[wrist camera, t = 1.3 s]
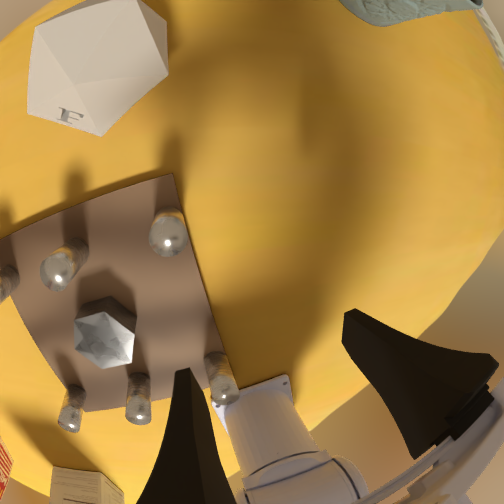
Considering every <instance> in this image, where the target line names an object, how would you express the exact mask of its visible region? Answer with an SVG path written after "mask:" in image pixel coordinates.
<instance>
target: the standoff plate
mask: <svg viewBox="0 0 504 504" xmlns="http://www.w3.org/2000/svg"><path fill="white" fill-rule="evenodd" d="M168 206H170V207H175V208H177V209H178V210H179V211H180V212H181V213H182V209H181V206H180V202H179V198H178V194H177V190H176V186H175V182H174V177H173V173H171V174H168V175H164V176H161V177H157V178H154V179H150V180H147V181H144V182H141V183H137V184H134V185H131V186H128V187H125V188H122V189H119V190H116V191H113V192H110V193H107V194H105V195H102V196H99V197H96V198H94V199H91V200H88V201H86V202H83V203H80V204H78V205H75V206H73V207H70V208H68V209H65V210H63V211H60V212H58V213H56V214H53V215H51V216H49V217H46V218H44V219H42V220H40V221H37V222H35V223H33V224H31V225H29V226H27V227H24V228H22V229H20V230H18V231H16V232H14V233H12V234H10V235H8V236H6V237H4V238H2V239H0V269H1V268H3V267H4V266H5V265H12V266H14V267H15V268H16V270H17V271H18V273H19V276H20V284H19V286H18V287H17V288H16V289H15V290H14V291H13V292H12V293H11V294H10V296H11V298H12V300H13V302H14V304H15V306H16V308H17V310H18V312H19V314H20V316H21V318H22V320H23V322H24V324H25V326H26V327H27V329H28V331H29V333H30V335H31V336H32V338H33V340H34V341H35V343H36V345H37V346H38V348H39V350H40V351H41V353H42V354H43V356H44V358H45V359H46V361H47V362H48V364H49V365H50V367H51V368H52V370H53V371H54V372H55V374H56V375H57V377H58V378H59V379H60V381H61V382H62V384H63V385H64V386H65V388H66V389H67V387H68V385H70V384H76V385H79V386H81V387H82V388H83V389H84V390H85V391H86V399H85V404H84V409H83V410H84V411H85V412H91V411H99V410H106V409H113V408H119V407H125V406H126V399H127V387H128V377H129V375H130V374H131V373H133V372H143V373H145V374H147V375H148V376H149V377H150V379H151V402H152V401H156V400H161V399H165V398H170V397H172V393H173V385H174V373H175V372H176V371H177V370H181V369H185V368H189V367H190V369H191V371H192V373H193V374H194V376H195V378H196V380H197V382H198V384H199V385H200V387H201V389H205V388H208V387H210V386H209V382H208V378H207V374H206V370H205V366H204V357H205V356H206V355H207V354H208V353H210V352H212V351H221V352H223V353H224V354H225V355H226V353H225V350H224V348H223V345H222V342H221V339H220V336H219V333H218V330H217V327H216V324H215V321H214V318H213V315H212V312H211V309H210V306H209V303H208V300H207V296H206V293H205V290H204V287H203V284H202V280H201V277H200V274H199V270H198V267H197V264H196V260H195V257H194V253H193V250H192V246H191V243H190V239H189V236H188V241H187V244H186V247H185V248H184V250H183V251H182V252H181V253H179V254H178V255H175V256H172V257H164V256H161V255H159V254H157V253H156V252H155V251H154V250H153V249H152V248H151V246H150V243H149V232H150V229H151V226H152V223H153V221H154V218H155V215H156V214H157V212H158V211H159V210H160V209H162V208H164V207H168ZM182 215H183V213H182ZM186 229H187V228H186ZM187 234H188V232H187ZM74 237H78V238H81V239H83V240H84V241H85V242H86V243H87V245H88V247H89V258H88V260H87V261H86V263H85V264H84V265H83V266H82V268H81V269H80V270H79V271H78V272H77V274H76V275H75V276H74V278H73V279H72V280H71V281H70V283H69V284H68V285H67V287H66V288H65V289H64V290H62V291H58V292H56V291H52V290H50V289H48V288H47V287H46V286H45V285H44V284H43V282H42V280H41V278H40V272H39V270H40V265H41V263H42V261H43V260H44V259H46V258H47V257H48V256H49V255H50V254H52V253H53V252H54V251H55V250H57V249H58V248H59V247H60V246H62V245H63V244H64V243H65V242H67V241H68V240H69V239H71V238H74ZM107 296H112V297H113V298H115V299H116V300H117V301H118V302H120V303H121V304H122V305H123V306H124V307H126V308H127V309H128V310H129V311H131V312H132V313H133V314H135V315H136V316H137V323H136V331H135V339H134V347H133V355H132V363H128V364H124V365H119V366H114V367H110V368H105V369H102V368H100V367H99V366H97V365H96V364H94V363H93V362H91V361H90V360H89V359H87V358H86V357H84V356H83V355H82V354H80V353H79V352H78V351H76V350H75V348H74V319H75V317H76V315H77V313H78V311H79V309H80V308H81V306H82V304H83V303H87V302H90V301H94V300H97V299H100V298H104V297H107ZM229 365H230V364H229ZM230 368H231V367H230ZM233 376H234V375H233ZM234 379H235V378H234Z"/></svg>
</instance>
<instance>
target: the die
mask: <svg viewBox="0 0 504 504" xmlns="http://www.w3.org/2000/svg"><path fill="white" fill-rule="evenodd" d="M168 75H169V70H168V48H167V22H166V21H165V20H164V19H163V18H162V17H161V16H159V15H158V14H157V13H156V12H155V11H153V10H152V9H151V8H150V7H149V6H147V5H146V4H145V3H144V2H142V1H141V0H86V1H84V2H82V3H79V4H77V5H75V6H73V7H71V8H69V9H67V10H65V11H63V12H61V13H59V14H57V15H55V16H53V17H52V18H50V19H48V20H46V21H44V22H43V23H41V24H39V25H38V26H36V27H35V31H34V37H33V43H32V50H31V57H30V66H29V78H28V99H27V114H30V115H33V116H37V117H40V118H44V119H47V120H51V121H54V122H57V123H60V124H64V125H67V126H70V127H73V128H76V129H79V130H82V131H85V132H88V133H91V134H94V135H97V136H100V137H102V136H103V135H104V134H105V133H106V132H107V131H108V130H109V129H110V128H111V127H112V126H113V125H114V124H115V123H116V122H117V121H118V120H119V119H120V118H121V117H122V116H123V115H124V114H125V113H126V112H127V111H128V110H129V109H130V108H131V107H132V106H133V105H134V104H135V103H136V102H137V101H139V100H140V99H141V98H142V97H143V96H144V95H145V94H146V93H148V92H149V91H150V90H151V89H152V88H153V87H155V86H156V85H157V84H158V83H159V82H161V81H162V80H163V79H164V78H166V77H167V76H168Z"/></svg>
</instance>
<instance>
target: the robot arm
mask: <svg viewBox="0 0 504 504" xmlns="http://www.w3.org/2000/svg"><path fill="white" fill-rule="evenodd" d="M342 344H343V346H344V347H345V349H346V351H347V352H348V354H349V356H350V357H351V359H352V360H353V361H354V363H355V364H356V365H357V367H358V368H359V369H360V370H361V372H362V373H363V374H364V375H365V377H366V378H367V379H368V380H369V382H370V383H371V384H372V385H373V386H374V388H375V389H376V390H377V392H378V393H379V394H380V396H381V397H382V399H383V401H384V402H385V404H386V406H387V407H388V409H389V411H390V412H391V414H392V416H393V418H394V420H395V421H396V424H397V426H398V428H399V429H400V432H401V433H402V436H403V438H404V440H405V443H406V445H407V447H408V450H409V453H410V455H411V456H412V458H413V459H414V460H415V459H417V458H418V457H419V456H421V455H422V454H423V453H425V452H426V451H427V450H428V449H430V448H431V447H432V446H433V445H434V444H435V445H436V446H437V447H436V448H435V449H434V450H432V451H431V452H430V453H429V454H427V455H426V456H425V457H424V458H422V459H421V460H420V461H418V462H417V463H416V464H414V465H413V466H412V467H410V468H409V469H407V470H406V471H405V472H403V473H402V474H400V475H399V476H397V477H396V478H394V479H393V480H391V481H390V482H388V483H386V484H385V485H383V486H381V487H380V488H378V489H377V490H375V491H373V492H371V493H370V494H369V491H368V487H367V484H366V482H365V480H364V478H363V476H362V474H361V473H360V471H359V470H358V468H357V467H356V466H355V465H354V464H353V463H352V462H351V461H350V460H349V459H347V458H344V457H342V456H339V455H335V456H332V457H331V456H330V455H329V453H328V452H327V450H323V451H320V450H319V448H318V446H317V445H316V443H315V441H314V440H313V438H312V436H311V435H310V433H309V431H308V430H307V428H306V426H305V425H304V423H303V421H302V420H301V418H300V416H299V415H298V413H297V411H296V409H295V408H294V404H293V398H292V392H291V386H290V380H289V377H288V375H286V374H284V375H281V376H278V377H275V378H273V379H270V380H267V381H264V382H262V383H259V384H256V385H253V386H250V387H247V388H244V389H241V390H239V392H240V397H239V399H238V400H237V401H236V402H234V403H232V404H230V405H217V404H216V403H215V402H214V401H213V399H211V404H212V406H213V408H214V410H215V412H216V413H217V415H218V417H219V419H220V421H221V423H222V424H223V426H224V428H225V430H226V432H227V433H228V435H229V437H230V439H231V442H232V445H233V448H234V451H235V454H236V457H237V460H238V463H239V466H240V469H241V472H242V475H243V477H244V478H242V481H243V484H244V487H245V489H246V491H245V489H244V488H241V489H238V490H237V493H236V494H235V495H233V493H232V491H231V488H230V486H229V484H228V481H227V478H226V476H225V473H224V470H223V467H222V465H221V462H220V458H219V455H218V451H217V446H216V441H215V437H214V432H213V427H212V422H211V417H210V412H209V409H208V406H207V402H206V399H205V396H204V393H203V391H202V389H201V387H200V385H199V384H198V382H197V380H196V378H195V376H194V374H193V373H192V371H191V369H190V367H189V368H185V369H181V370H177V371H176V372H175V373H174V385H173V393H172V400H171V405H170V411H169V416H168V421H167V425H166V429H165V434H164V437H163V441H162V444H161V448H160V451H159V454H158V457H157V460H156V462H155V465H154V468H153V470H152V473H151V475H150V477H149V480H148V482H147V484H146V486H145V488H144V490H143V492H142V494H141V496H140V498H139V499H138V501H137V503H136V504H376V503H378V502H380V501H382V500H383V499H385V498H386V497H388V496H389V495H391V494H392V493H394V492H396V491H397V490H399V489H400V488H402V487H403V486H405V485H406V484H408V483H409V482H410V481H412V480H413V479H415V478H416V477H417V476H419V475H420V474H421V473H422V472H424V471H425V470H426V469H428V468H429V467H430V466H431V465H433V469H432V470H430V471H429V472H428V473H426V474H425V475H423V476H422V477H420V478H419V479H418V480H417V481H415V482H414V483H413V484H412V485H410V486H409V487H408V488H407V490H408V492H409V494H408V495H406V496H405V497H403V498H401V499H400V500H398V501H397V502H395V503H393V504H473V503H472V502H471V500H470V499H469V498H468V496H467V495H466V494H465V493H466V492H467V491H468V489H469V488H470V487H471V486H472V485H473V483H474V482H475V481H476V480H477V478H478V477H479V476H480V475H481V473H482V472H483V471H484V469H485V468H486V467H487V465H488V464H489V463H490V461H491V460H492V459H493V457H494V456H495V454H496V452H497V451H498V450H499V448H500V447H501V445H502V444H503V442H504V377H502V379H501V380H500V381H499V383H498V384H497V385H496V387H495V388H494V389H493V390H492V391H491V392H490V393H489V392H488V391H487V390H488V389H489V386H488V385H487V384H486V383H487V382H488V380H489V379H490V377H491V376H492V375H493V374H494V372H495V370H496V369H497V368H498V366H499V363H498V362H497V361H496V360H495V359H494V358H493V357H492V356H491V355H490V354H486V353H469V352H463V351H457V350H451V349H447V348H443V347H439V346H436V345H432V344H429V343H426V342H423V341H420V340H418V339H415V338H413V337H411V336H408V335H406V334H404V333H402V332H400V331H397V330H395V329H393V328H391V327H389V326H387V325H385V324H384V323H382V322H380V321H378V320H376V319H374V318H372V317H371V316H369V315H367V314H365V313H363V312H361V311H359V310H358V309H356V308H354V309H352V310H350V311H348V312H345V313H344V322H343V332H342Z"/></svg>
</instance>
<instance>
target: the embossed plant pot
mask: <svg viewBox="0 0 504 504" xmlns="http://www.w3.org/2000/svg"><path fill="white" fill-rule="evenodd" d="M339 1H340V2H341V3H342V4H343V5H344V6H345V7H346V8H347V9H348V10H349V11H351V12H352V13H353V14H354V15H356V16H357V17H359V18H360V19H362V20H364V21H365V22H367V23H370V24H372V25H375V26H380V27H385V26H391V25H394V24H397V23H401V22H404V21H409V20H412V19H415V18H421V17H425V16H431V15H435V14H441V13H442V12H443V11H447V12H452V11H462V10H473V9H481V8H482V7H483V0H339Z"/></svg>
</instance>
